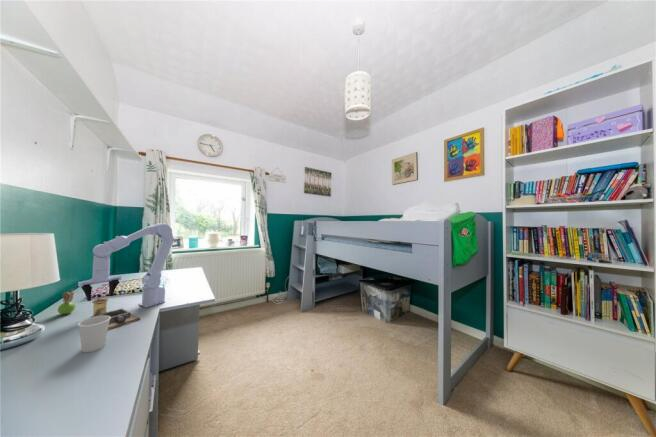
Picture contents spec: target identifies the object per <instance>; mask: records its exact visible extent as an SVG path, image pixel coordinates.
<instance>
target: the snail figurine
mask: <svg viewBox="0 0 656 437" xmlns="http://www.w3.org/2000/svg"><path fill="white" fill-rule="evenodd" d="M70 291H71V292H69V291H64V292H63V294H62V302H63V303H62V304H60V305H59V306H58V307H57V312H58V313H59V315H68V314H70V313H72V312H74V311H75V309H76V305H75V303H74V302H72V301H73V299H74V294H75V288H73V289H70Z"/></svg>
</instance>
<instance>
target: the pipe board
mask: <svg viewBox="0 0 656 437" xmlns="http://www.w3.org/2000/svg"><path fill="white" fill-rule="evenodd" d="M102 315H107V316H110V317H111V319H110V321H109V326H108V330H113V329H115V328H116V329H117V328H119V327H121V326H124V325H128V324H130V323H134V322H137V321H140V320H141V317H140V316H137V315H135V314H134V313H132V312H131V311H128V310H126V309H124V308H122V307H121V308H117V309H113V310H111V311H106V313H103V314H99V315H97V316H102Z"/></svg>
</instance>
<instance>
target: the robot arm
mask: <svg viewBox="0 0 656 437" xmlns="http://www.w3.org/2000/svg"><path fill="white" fill-rule="evenodd" d="M148 235H157V236H158V237H159V239H160V240H161V242H160V245H159V247H158V249H157V251H156V254H155V256H154V259H153V261H152V264H151V266H150V269H148V271H147V272H146V274H145V275H144V276H143V277H142V278H141V283H142V284H143V286H142V289H141V290H142V292H141V296H142V297H141V298H142V299H141V302H139V303H137V304H138V305H139V306H141V307H144V308H148V307H152V306H155V305H159V303H160V304H163V303H165V302H166V300H165V298H166V297H165V296H166V289H165V287H164V285H161V277H162V270H163V267H164V265H165V263H166V260H167V257H168V256H169V253H170V251H171V248H172V245H173V243H174V240H175V239H174V235H173V229H172V228H171V226H170V225H169V224H167V223H162V222H161V223H160V222H157V223H155V224H151V225H149V226H146V227H143V228H141V229H140V230H138V231H135V232H133V233H131V234H129V235H127V236H126V235H120V236H119V235H116V236H115V238H113V239H111V240H108V241H103V243H100V244H97V245H95V246H94V247H93V248H92V253H93V261H92V276H91V277H92V279H87V280H82V281H78V283H77V286H78V287H79V288H81V290H82V291H83V292H84V294H85V297H86V301H87V302H91V301H92V291H93V290H92V289H93V286H92V285H98V284H103V283H108V296H109V297H113V296H114V293H115V291H116V288H117V287H118V285H119V283H120V281H122V275H114V276H113V275H111V276H110V272H111V270H110V269H111V258H110V256H111V254H112V253H114V252H117V251H119V250H121V249H123V248H126V247H128V246H130V243H131V242H133V241H135V240H137V239H141V238H143V237H145V236H148Z"/></svg>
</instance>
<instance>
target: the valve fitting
mask: <svg viewBox="0 0 656 437" xmlns="http://www.w3.org/2000/svg"><path fill="white" fill-rule="evenodd" d="M108 301H109V299H108V298H101V297H98V298H96V299H95V300H93V301H92V304H93V306H92V307H93V310H92V312H93V313H92V317H95V316H97V315H99V314H103V313H107V305H108Z"/></svg>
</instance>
